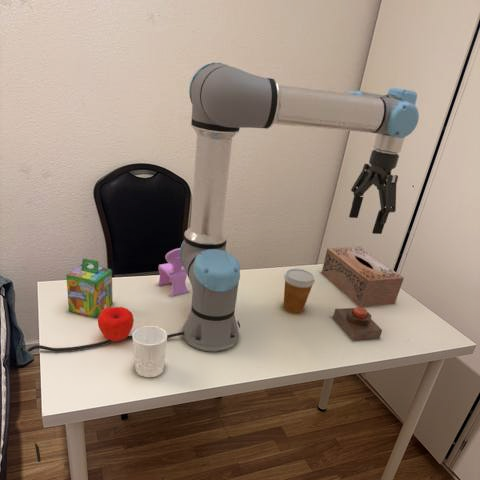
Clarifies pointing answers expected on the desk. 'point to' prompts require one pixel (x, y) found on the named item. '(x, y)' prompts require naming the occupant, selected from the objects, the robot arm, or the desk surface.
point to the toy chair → (173, 273)
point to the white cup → (149, 350)
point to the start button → (360, 312)
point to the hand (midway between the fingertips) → (364, 225)
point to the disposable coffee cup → (297, 289)
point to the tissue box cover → (361, 276)
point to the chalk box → (89, 288)
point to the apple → (115, 323)
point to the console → (357, 325)
